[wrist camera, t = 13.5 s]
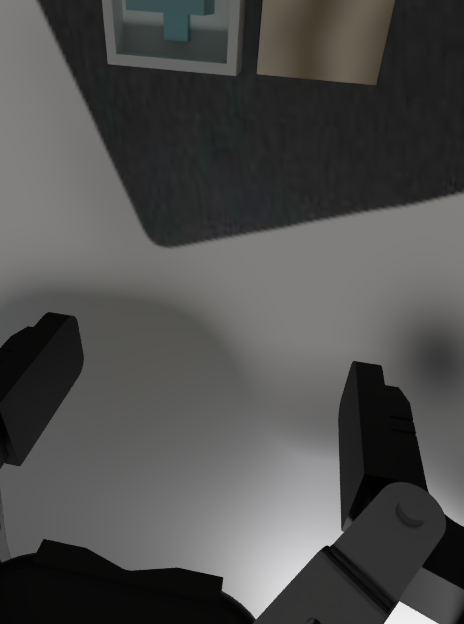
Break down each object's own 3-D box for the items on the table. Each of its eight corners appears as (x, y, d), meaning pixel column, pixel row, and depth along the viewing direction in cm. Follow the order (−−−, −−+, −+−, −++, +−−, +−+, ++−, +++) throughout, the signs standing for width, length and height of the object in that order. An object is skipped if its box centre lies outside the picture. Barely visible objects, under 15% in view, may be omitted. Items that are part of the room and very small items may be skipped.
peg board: (409, -72, 32) (420, -81, 28) (374, 83, 38) (380, 92, 34) (270, -80, 33) (264, -89, 29) (258, 72, 39) (251, 80, 35)
